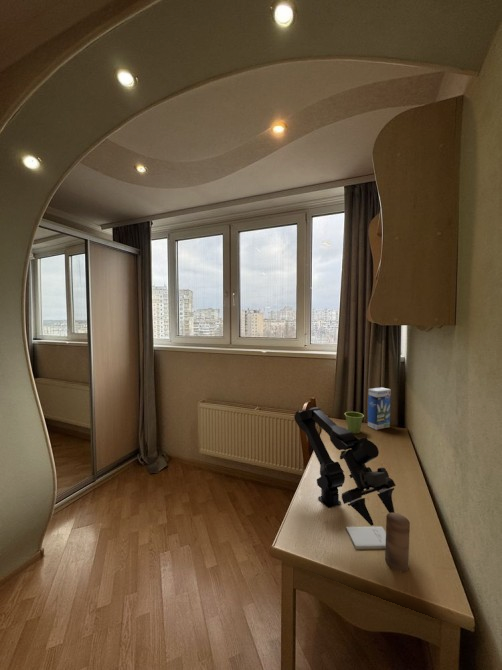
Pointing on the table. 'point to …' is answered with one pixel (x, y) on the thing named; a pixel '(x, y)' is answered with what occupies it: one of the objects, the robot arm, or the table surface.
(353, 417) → the plant pot
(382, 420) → the string lights box
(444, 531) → the table surface
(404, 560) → the walnut roller
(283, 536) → the table surface
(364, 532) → the external hard drive
